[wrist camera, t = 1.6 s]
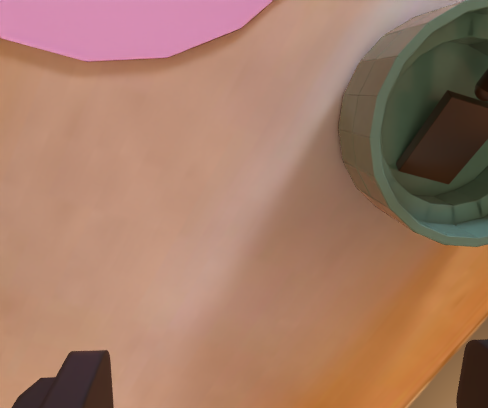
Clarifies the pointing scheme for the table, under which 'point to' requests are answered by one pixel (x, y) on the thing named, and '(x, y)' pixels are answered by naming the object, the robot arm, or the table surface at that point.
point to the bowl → (418, 121)
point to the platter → (122, 25)
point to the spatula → (449, 136)
